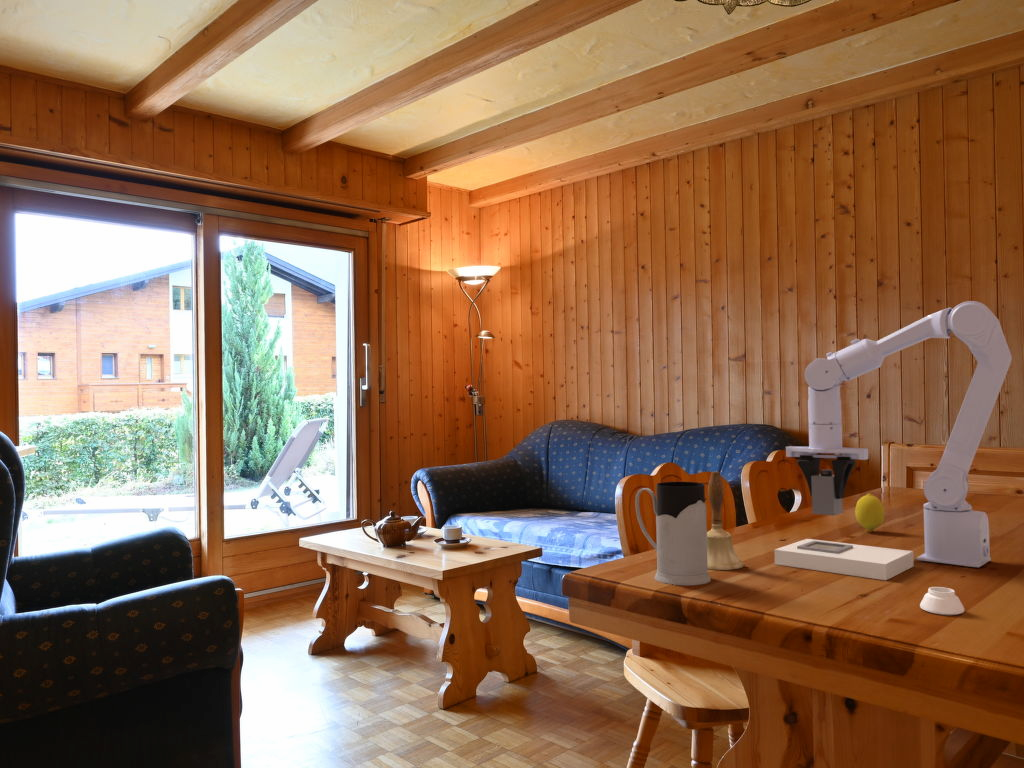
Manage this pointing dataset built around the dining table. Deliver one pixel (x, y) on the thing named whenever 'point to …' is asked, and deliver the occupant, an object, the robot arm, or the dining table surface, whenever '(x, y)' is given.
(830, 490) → the plug
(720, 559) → the hand bell
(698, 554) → the glass holder
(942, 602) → the white upside-down bowl
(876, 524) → the lemon
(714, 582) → the dining table surface
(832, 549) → the socket board
